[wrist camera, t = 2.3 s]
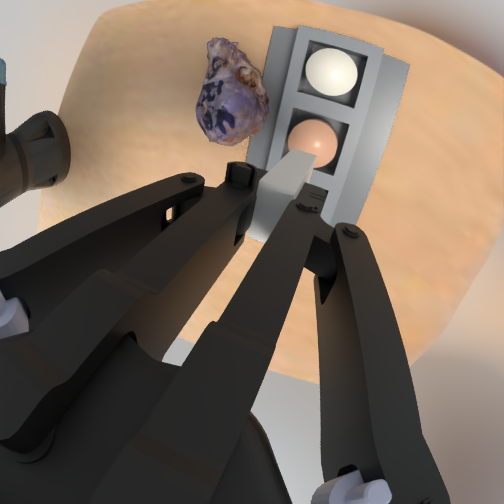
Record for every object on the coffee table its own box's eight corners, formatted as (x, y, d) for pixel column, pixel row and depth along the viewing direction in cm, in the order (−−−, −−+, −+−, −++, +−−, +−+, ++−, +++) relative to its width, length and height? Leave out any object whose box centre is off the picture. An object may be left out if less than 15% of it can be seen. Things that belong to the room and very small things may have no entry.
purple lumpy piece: (205, 46, 25) (170, 41, 21) (268, 32, 22) (240, 20, 17) (216, 141, 31) (185, 152, 26) (279, 138, 28) (255, 148, 23)
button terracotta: (288, 153, 27) (283, 159, 25) (298, 112, 24) (294, 114, 22) (330, 167, 26) (329, 174, 24) (343, 126, 24) (342, 129, 22)
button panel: (239, 204, 35) (228, 216, 32) (275, 27, 22) (266, 20, 19) (347, 242, 33) (345, 258, 30) (408, 64, 20) (416, 61, 17)
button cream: (304, 88, 23) (300, 87, 21) (314, 47, 20) (311, 42, 18) (350, 101, 22) (350, 102, 20) (361, 60, 20) (362, 57, 18)
